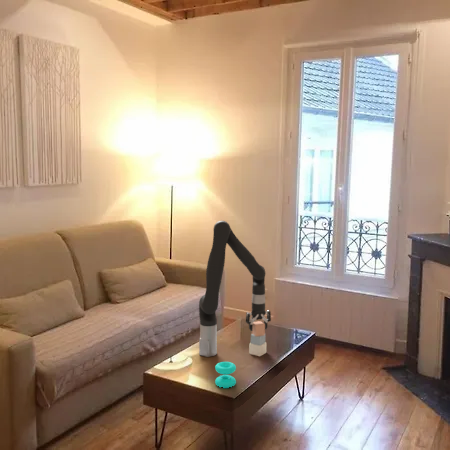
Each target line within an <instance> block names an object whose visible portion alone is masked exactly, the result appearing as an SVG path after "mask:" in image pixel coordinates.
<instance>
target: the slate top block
mask: <svg viewBox="0 0 450 450" xmlns="http://www.w3.org/2000/svg"><path fill="white" fill-rule="evenodd" d="M266 335H267V334H266V333H265V335H263V336H254V335H253V334H252V333H251V334H250V343H251V344H255V345H259V346H260V345H262V344H264V343H265V342H266Z"/></svg>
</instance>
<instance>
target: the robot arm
mask: <svg viewBox="0 0 450 450" xmlns="http://www.w3.org/2000/svg"><path fill="white" fill-rule="evenodd" d="M212 236H213V237H212V238H213V240H212V244H211V250H210V252H209V255H208V260H207V264H206V270H205V271H206V272H205V277H206V279H205V280H206V283H205V284H206V285H205V286H206V287H205V288H206V289H205V294H203V295H202V296H201V297H200V299H199V301H198V303H199V304H198V309H199V310H198V313H199V314H198V315H199V316H198V317H199V324H200V325H199V335H200V336H199V339H198V343H199V344H198V348H199V349H198V354H199V356H203V357H206V358H209V357H214V356H216V355H217V353H218V350H217V348H218V346H217V345H218V343H217V342H218V341H217V340H218V339H217V338H218V337H217V336H218V334H217V333H218V332H217V331H218V329H217V328H218V327H217V326H218V323H217V322H218V320H217V314H216V311H217V310H218V307H219V297H220V295H219V294H220V289H221V283H222V280H223V279H222V278H223V274H224V271H225V270H224V269H225V263H226V262H225V261H226V249H227V248H226V247H227V245H228V246H229V247H230V249H231V251H232V252H233V254H235V256H236V257H237V258H238V260H239V261H240V262H241V264H243V266H244V267H245V268H246V269H247V270H248V272H249V273H250V275H251V276H252V287H251V288H252V289H251V292H252V293H251V312H248V311H246V313H245V323H246V324H247V325H248V329H249V330H250V332H252V329H253V325H252V324H253V322H256V321H259V320H260V321H262V320H263V323H264V324H265V330H267V329H268V323H270V322H271V321H272V319H271V318H272V317H271V315H272V314H271V313H272V312H271V310H270V309H267V310H266V286H265V285H266V284H265V279H266V278H265V277H266V269H265V267H264V266H262V265H260V264H259V262H258V261H257V260H256V258H255V257H254V255H253V254H252V253H251V252H250V251H249V249H248V248H247V247H246V246H245V245H244V244H243V243H242V242H241V241H240V240H239V238H238V237H237V236H236V235H235V233H234V232H233V230H232V228H231V226H230V223H228V222H227V221H225V220H218V221H216V223H215V224H214V226H213V235H212ZM265 315H266V316H265Z"/></svg>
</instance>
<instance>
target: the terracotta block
mask: <svg viewBox="0 0 450 450" xmlns="http://www.w3.org/2000/svg"><path fill="white" fill-rule="evenodd" d="M252 325H253V329H252V331H251V334H253V335H254V336H263V335H265V334H266V329H265V324H264V321H263V322H262V320H260V321H259V320H256V321H254V322H253V324H252Z"/></svg>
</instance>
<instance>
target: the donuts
mask: <svg viewBox="0 0 450 450" xmlns="http://www.w3.org/2000/svg"><path fill="white" fill-rule="evenodd" d="M214 368H215V369H214V370H215V371H216V372H217V373H218V374H220V375H219V376H217V377H216V378H215V381H214V383H215V385H216V386H217V387H218V386H219V387H218V388H221V387H223V388H222V389H230V388H229V387H231V388H233V387H234V386H236V384H237V380H236V378H235V377H234V376H232V375H231V374H234V373H235V371H236V370H237V366H236V364H235V363H233V362H231V361H220V362H218V363H216V365H215V366H214ZM232 386H233V387H232Z"/></svg>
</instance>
